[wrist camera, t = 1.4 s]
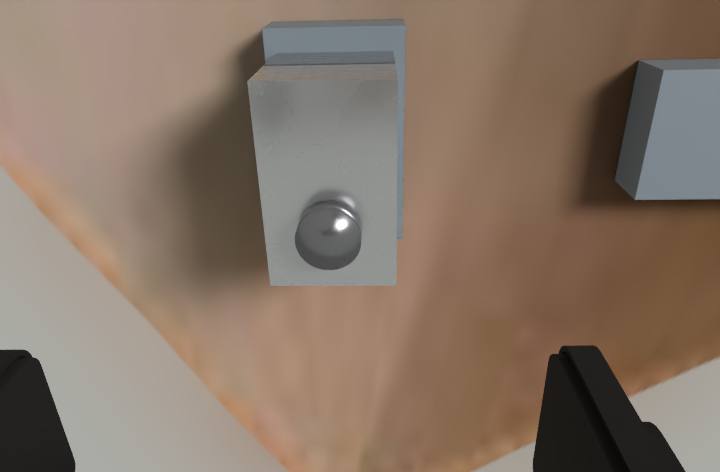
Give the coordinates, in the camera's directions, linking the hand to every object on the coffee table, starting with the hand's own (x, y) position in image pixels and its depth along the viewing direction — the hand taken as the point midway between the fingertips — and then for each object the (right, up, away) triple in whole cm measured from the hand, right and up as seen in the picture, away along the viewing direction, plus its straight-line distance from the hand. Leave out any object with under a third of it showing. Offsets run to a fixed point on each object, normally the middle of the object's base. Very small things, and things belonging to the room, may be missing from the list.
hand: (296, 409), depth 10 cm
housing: (0, +7, +15) cm, 17 cm away
